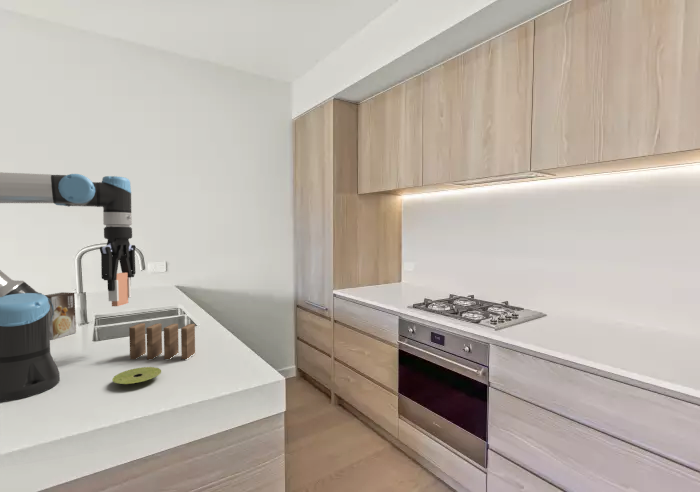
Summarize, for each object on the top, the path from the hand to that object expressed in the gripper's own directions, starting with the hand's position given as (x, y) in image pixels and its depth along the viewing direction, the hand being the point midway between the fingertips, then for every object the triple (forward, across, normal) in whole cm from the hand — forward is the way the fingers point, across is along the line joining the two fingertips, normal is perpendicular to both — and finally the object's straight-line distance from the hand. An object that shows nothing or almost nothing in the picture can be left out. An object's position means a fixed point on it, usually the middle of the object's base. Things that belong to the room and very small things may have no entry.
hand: (120, 299), depth 115 cm
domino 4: (+18, 0, -16) cm, 25 cm away
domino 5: (+18, 0, -22) cm, 29 cm away
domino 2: (+18, 0, -6) cm, 19 cm away
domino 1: (+2, 0, 0) cm, 2 cm away
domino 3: (+18, 0, -11) cm, 22 cm away
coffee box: (+19, +21, +39) cm, 48 cm away
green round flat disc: (+19, -19, -18) cm, 32 cm away
